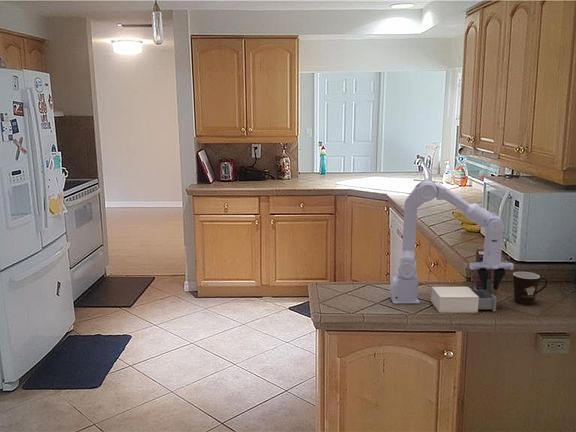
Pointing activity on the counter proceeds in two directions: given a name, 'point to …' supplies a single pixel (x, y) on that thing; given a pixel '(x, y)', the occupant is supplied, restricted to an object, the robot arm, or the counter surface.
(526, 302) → the coffee mug
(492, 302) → the tray
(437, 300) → the sleeve
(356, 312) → the counter surface
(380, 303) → the counter surface
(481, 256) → the supplement box
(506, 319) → the counter surface
